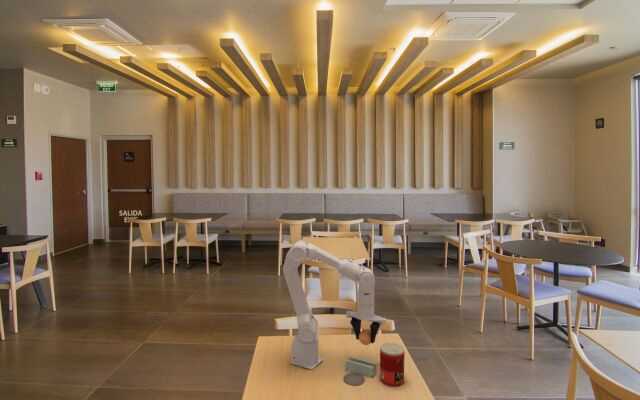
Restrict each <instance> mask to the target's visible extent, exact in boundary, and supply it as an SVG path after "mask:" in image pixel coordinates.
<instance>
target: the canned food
mask: <svg viewBox="0 0 640 400" xmlns="http://www.w3.org/2000/svg"><path fill="white" fill-rule="evenodd" d="M379 349H380V350H379V378H380V381H381V382H382V383H383V384H385V385H387V386H389V385H390V386H391V387H398V385H399V386H400V385H402V384H404V380H405V348H404V347H403V346H402V345H401V344H398V343H394V342H385V343H382V344H381V345H380V348H379Z"/></svg>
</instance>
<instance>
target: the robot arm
mask: <svg viewBox="0 0 640 400" xmlns="http://www.w3.org/2000/svg"><path fill="white" fill-rule="evenodd" d="M306 260H307V262H310V261H315V260H316V261H319V262H320V263H324V264H326V265H329V266H331V268H332V267H333V268H335V269H337V272H338V274H340V275H341V276H343V277H345V278H347V279H349V280H351V281H352V282H357V284H358V290H357V310H356V311H353V310H348V311H346V313H345V318H346V319H349V318H351V320H350V322H349V323H350V325H351V328H352V329H353V331H354V335H355V339H356V340H357V341H358V340H359V334H360V332H361V331H362V330H361V329H362V321H363V322H370V323H371V324H369V329H370V332H371V343H370V344H374V343H375V342H376V338H377V334H378V331H379V328H380V327H381V326H386V324H387V318H386V317H382V316H380V315H377V314H375V290H374V289H375V284H376V280H375V275H374V272H373V270H371V269H370V268H369V267H365V266H364V265H362V266H361V265H359V264H357V263H355V262H353V261H354V260H353V259H351V258H349V259H347V258H344V259H340V258H338V257H336V256H335V255H333V254H330V253H329V252H327V251H325V250H323V248H320V247H319V246H316V245H314V244H313V243H311V242H307V241H305V240H303V239H299V240H297V241H295V242H294V243H293V244H292V246H291V247H290V248H289V250H288V252H287V253H286V255H285V259H284V262H283V265H282V266H283V267H282V273H283V276H284V279H285V282H286V285H287V288H288V291H289V295H290V297H291V298H290V299H291V301H292V305H293V307H294V311H295V315H296V320H297V321H296V322H297V328H298V331H297V335H294V337H293V338H292V341H291V344H290V353H291V357H290V358H291V359H290V362H289V363H290V364H292V365H295V366H299V367H301V368H306V369H309V370H314V369H315V368H316V367H317V366H318V365H320V363H322V362H323V360H324V358H322V357H319V335H318V334H317V330H318V326H319V323H318V320H317V318H316V317H315V316H314V314H313V311H311V310H310V307H309V303H308V299H307V297H306V294H305V290H304V287H303V283H302V281H301V277H300V274H299V272H298V271H299V270H298V268H299V267H300V265H301V264H302V263H304V262H305V261H306Z"/></svg>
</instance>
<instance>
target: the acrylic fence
mask: <svg viewBox="0 0 640 400" xmlns="http://www.w3.org/2000/svg"><path fill="white" fill-rule="evenodd" d="M348 358H349V359H345V371H347V372H350V373H358V374H360V375H362V376H365V377H369V378H374V377H375V375H377V362H373V361H370V360H366V359H363V358H359V357H355V356H353V355H352V356H351V355H349V357H348Z"/></svg>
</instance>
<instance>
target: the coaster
mask: <svg viewBox="0 0 640 400" xmlns="http://www.w3.org/2000/svg"><path fill="white" fill-rule="evenodd" d="M365 381H366V380H365V377H364V375H361V374H358V373H354V372H350V373H347V374H345V375H344V376H343V382H344V383H345V384H347V385H349V386H352V387H353V386H355V387H356V386H361V385H363V384H364V383H365Z"/></svg>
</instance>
